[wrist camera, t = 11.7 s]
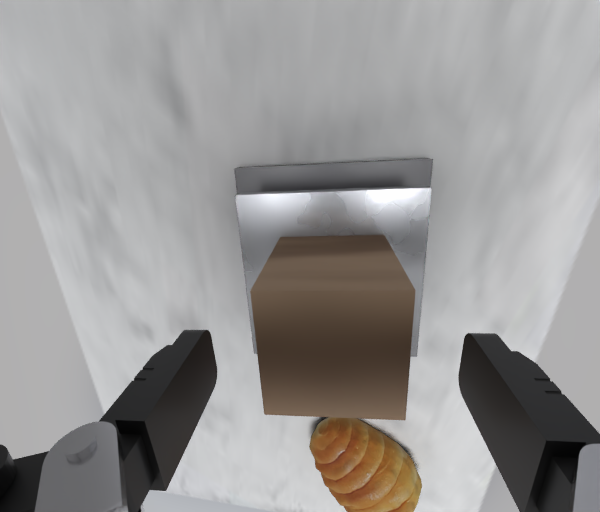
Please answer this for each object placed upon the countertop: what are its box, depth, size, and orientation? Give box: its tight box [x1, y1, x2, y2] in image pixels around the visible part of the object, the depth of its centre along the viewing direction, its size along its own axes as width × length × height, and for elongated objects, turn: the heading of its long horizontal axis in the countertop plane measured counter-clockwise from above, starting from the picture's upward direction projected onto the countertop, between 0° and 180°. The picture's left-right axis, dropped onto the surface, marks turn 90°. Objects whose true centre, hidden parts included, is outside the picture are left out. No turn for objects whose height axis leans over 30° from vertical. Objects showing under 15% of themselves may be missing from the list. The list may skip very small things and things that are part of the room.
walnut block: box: [250, 235, 416, 420], centre depth 13 cm, size 5×5×6 cm
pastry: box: [309, 417, 422, 512], centre depth 24 cm, size 9×7×4 cm
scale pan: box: [235, 185, 432, 357], centre depth 17 cm, size 11×9×2 cm
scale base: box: [234, 158, 433, 194], centre depth 17 cm, size 11×11×6 cm
